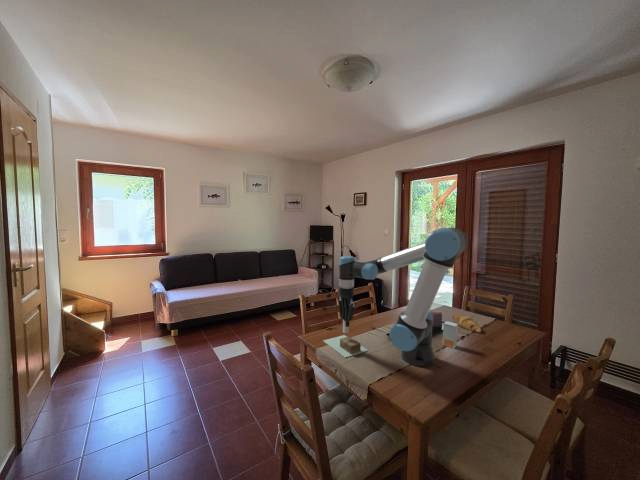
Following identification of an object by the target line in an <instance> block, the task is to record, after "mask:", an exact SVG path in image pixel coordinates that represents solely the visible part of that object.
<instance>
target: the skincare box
mask: <svg viewBox="0 0 640 480" xmlns="http://www.w3.org/2000/svg"><path fill="white" fill-rule="evenodd" d="M442 330H443V331H442V344H441V345H442V346H445V347H449V348H452V349H455V348H456V347H457V345H458V333H459V325H458V324H456V323H455V322H452V321H447V320H445V322H444V323H443V327H442Z"/></svg>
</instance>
